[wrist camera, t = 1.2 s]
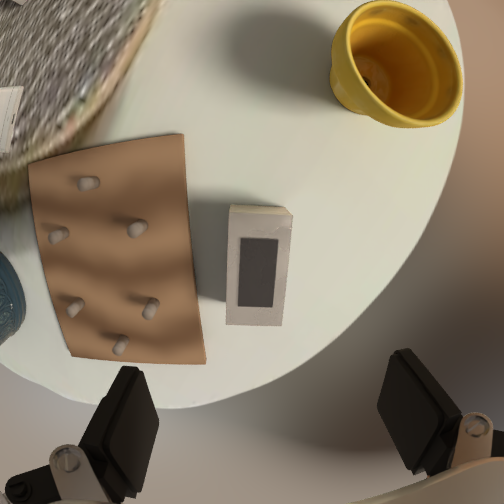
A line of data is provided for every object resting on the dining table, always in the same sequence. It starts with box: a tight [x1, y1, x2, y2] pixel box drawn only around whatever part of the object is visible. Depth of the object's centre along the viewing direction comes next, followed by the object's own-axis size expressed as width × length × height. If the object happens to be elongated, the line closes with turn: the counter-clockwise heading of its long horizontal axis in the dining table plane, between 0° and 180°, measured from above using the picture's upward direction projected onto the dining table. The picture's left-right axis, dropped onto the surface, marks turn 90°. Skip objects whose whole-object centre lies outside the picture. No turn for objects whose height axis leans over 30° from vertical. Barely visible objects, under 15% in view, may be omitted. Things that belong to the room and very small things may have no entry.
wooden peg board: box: [28, 134, 206, 364], centre depth 26 cm, size 24×18×4 cm
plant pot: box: [330, 0, 463, 128], centre depth 19 cm, size 10×10×10 cm
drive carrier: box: [226, 205, 293, 326], centre depth 26 cm, size 10×5×5 cm, turn 177°
